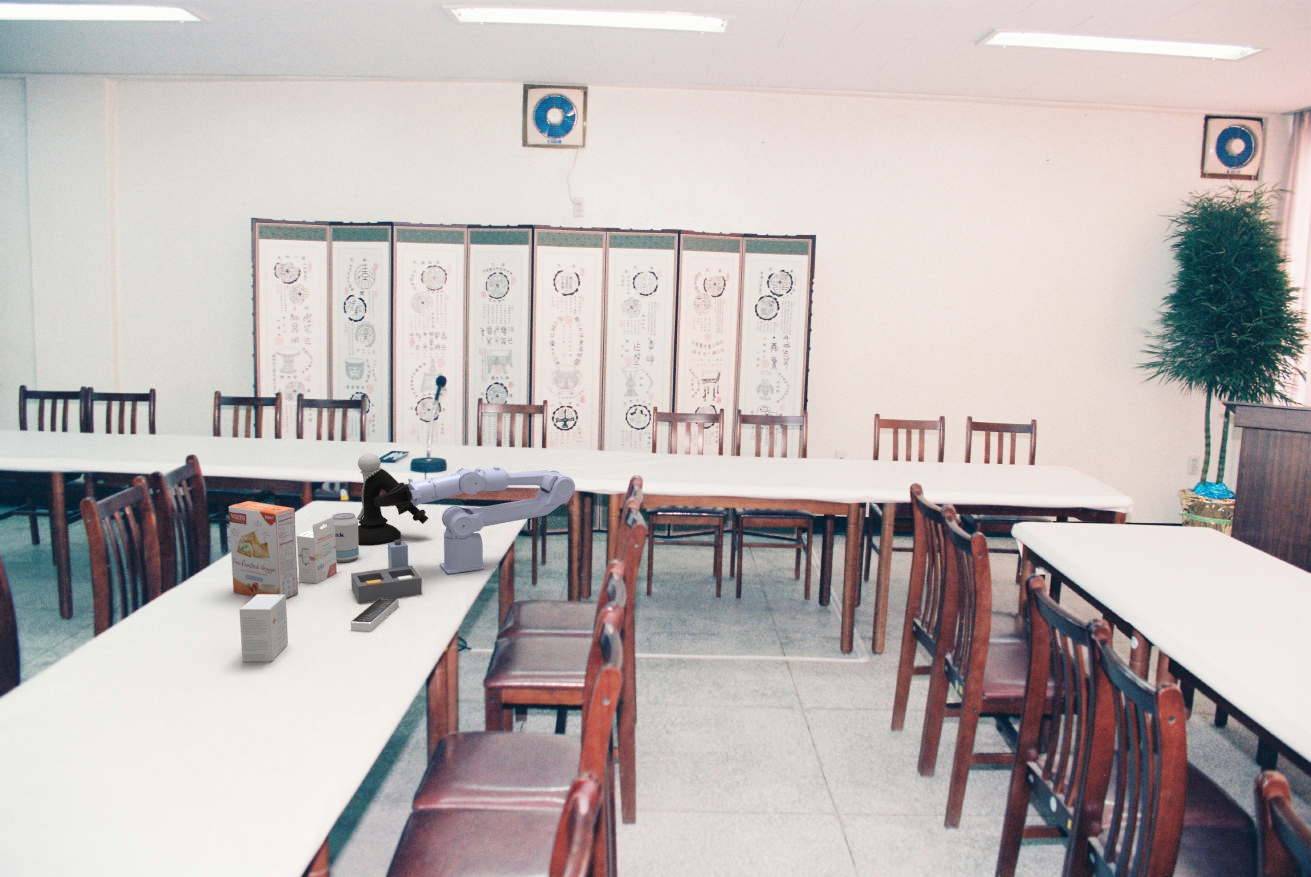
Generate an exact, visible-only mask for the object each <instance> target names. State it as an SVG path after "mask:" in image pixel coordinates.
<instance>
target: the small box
mask: <svg viewBox="0 0 1311 877" xmlns="http://www.w3.org/2000/svg"><path fill="white" fill-rule="evenodd" d="M287 610H288V609H287V599H286V595H281V594H257V595H256V596H252V598H250V600H249V601H248V602H246V603H245V604H244V605H243V606H242V607H241V608H239V622H240V623H239V625H240V639H241V641H240V643H241V655H242V656H241V658H242V663H256V662H258V663H259V662H260V663H262V662H263V663H270V662H271V663H272V662H273V661H274V660H275V659H276V658H277V656H279V654H280V653H281V652H282V651H283V650H284V649H285V648H286V647H287V646H288V645H289V640H288V639H289V637H288V635H289V634H288V615H287V613H288V612H287Z"/></svg>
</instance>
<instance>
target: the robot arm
mask: <svg viewBox="0 0 1311 877" xmlns="http://www.w3.org/2000/svg"><path fill="white" fill-rule="evenodd" d="M407 479H408V484H407V483H406V484H404V486H403V487H401V486H400V485H399V486H397V487H396V488H395V489H393V490H392V491H390V492H388V493H386V492H385V493H383V494H380V496H378V497H376V498H374V501H375V506H377V507H381V508H383V507H396V506H402V507H406V506H407V507H412V504H413V505H414V506H416V507H418V506H419V505H422V504H427V503H430V502H435V501H440V500H443V499H447V498H451V497H455V496H459V495H463V493H465V494H467V495H470V496H471V495H472V496H474V495H477V494H478V493H479V492H480V493H482V492H495V491H496V492H498V491H499V492H501V491H504V490H506V489H507V488H508V487H509V486H538V487H539V489H538V492H537V494H536V495H535V496H534V498H526V499H520V500H517V501H511V502H505V503H503V502H502V503H499V504H492V505H487V506H480V507H475V506H474V507H473V506H465V507H463V506H459V505H451V506H449V507H447V508H446V509H445V510H444V511H443V512H442V514H441V522H442V525H443V526H445V527H446V529H445V531H444V533H443V552H444V554H443V556H444V557H443V559H444V560H443V562H441V563H439V566H440V567H441V568H442V570H443V571H444V572H445V573H446V574H449V575H450V574H457V573H464V572H471V571H472V572H473V571H480V570H484V565H483V563H484V561H483V560H484V559H483V558H484V557H483V552H484V550H483V549H484V548H483V547H484V545H483V539H482V535H481V533H479V532H480V531H481V530H482V529H483V528H485V527H489V526H494V525H500V524H506V523H510V522H511V523H513V522H516V521H521V520H522V521H523V520H527V519H532V518H538V517H543V516H547V515H549V514H551V513H552V512H553V511H554V510H556V509H557V508H559V507H560V506H561V505H562V504H565V503H568V502H569V501H570V499H571V498H572V496H573V495H574V492H575V490H576V485H575V482H574V480H573V479H572V478H571V477H569V476H566V475H564V474H562V473H561V472H560V471H557V470H547V469H541V470H530V471H528V470H527V471H520V472H518V471H517V472H507V471H506V470H505V469H504V468H501V467H499V466H493V468H492V469H490V468H488V469H481V468H480V467H476V468H475V469H474V470H472V469H469V468H463V467H461V468H459V469H458V470H456V472H453V473H450V474H443V475H439V476H435V477H431V478H427V479H422V480H417V481H413V478H412V477H410V478H407ZM411 502H412V504H411Z"/></svg>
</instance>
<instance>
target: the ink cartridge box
mask: <svg viewBox="0 0 1311 877" xmlns="http://www.w3.org/2000/svg"><path fill="white" fill-rule="evenodd" d="M325 525H326V526H325ZM323 526H324V527H323ZM296 549H297V562H298V563H297V564H298V565H297V568H298V580H299V581H298V583H307V584H308V583H309V584H318V583H321V582H322V581H324V580H326V579H327V578H330V577H332V576H333V575H335V574H337V569H338V568H337V562H336V540H335V527H334V519H333V517H332V516H331V517H329V518H326V519H324V520H321V521H319V522H317V523H314V524H312V529H311V530H308V531H305V532H303V533H300V534H298V535H297V536H296Z"/></svg>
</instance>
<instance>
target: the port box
mask: <svg viewBox="0 0 1311 877" xmlns="http://www.w3.org/2000/svg"><path fill="white" fill-rule="evenodd" d="M350 575H351V580H350V582H351V591H352V593H353V595H354V596H355V598H356V601H357V603H358V604H364V603H370V602H371V603H372V602H373V603H374V602H375V601H376V600H378V599H379V598H381V597H384V598H398V599H399V598H405V597H413V596H419V595H422V594H423V592H422V591H423V587H422V585H423V584H422V583H423V582H422V576H420V574H419V573H418V571H417V570H416V569H415V568H414V566H413V565H408V566H404V567H396V568H382V569H373V570H366V571H359V572H351V574H350Z"/></svg>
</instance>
